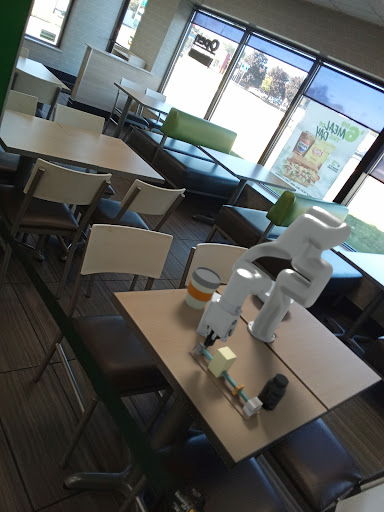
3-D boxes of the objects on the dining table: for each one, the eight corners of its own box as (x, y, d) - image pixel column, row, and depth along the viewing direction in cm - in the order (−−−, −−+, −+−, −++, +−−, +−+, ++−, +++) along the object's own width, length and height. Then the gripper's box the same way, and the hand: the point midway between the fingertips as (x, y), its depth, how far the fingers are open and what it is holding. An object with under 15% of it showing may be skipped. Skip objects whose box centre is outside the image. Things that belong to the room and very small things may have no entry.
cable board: (204, 348, 143) (209, 338, 141) (260, 412, 126) (267, 402, 124) (189, 352, 137) (194, 342, 136) (245, 420, 120) (252, 410, 118)
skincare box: (210, 340, 149) (227, 308, 142) (194, 332, 149) (211, 301, 142) (213, 328, 156) (229, 298, 150) (198, 321, 157) (214, 290, 150)
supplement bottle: (254, 393, 133) (270, 368, 128) (271, 397, 134) (288, 373, 129) (258, 409, 127) (276, 384, 122) (277, 413, 128) (294, 389, 123)
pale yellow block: (217, 364, 137) (227, 346, 133) (226, 374, 134) (236, 356, 130) (207, 367, 133) (217, 349, 130) (216, 377, 130) (227, 359, 127)
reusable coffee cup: (199, 315, 160) (213, 286, 154) (175, 298, 164) (189, 269, 158) (212, 306, 171) (227, 279, 165) (190, 290, 175) (203, 263, 169)
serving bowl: (272, 317, 184) (279, 306, 181) (242, 290, 196) (248, 279, 193) (294, 310, 199) (301, 300, 196) (265, 286, 211) (271, 276, 208)
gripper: (252, 317, 125) (228, 358, 133) (223, 288, 134) (202, 328, 141) (237, 320, 120) (213, 362, 127) (208, 290, 128) (187, 332, 136)
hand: (207, 344), depth 134 cm, fingers closed
